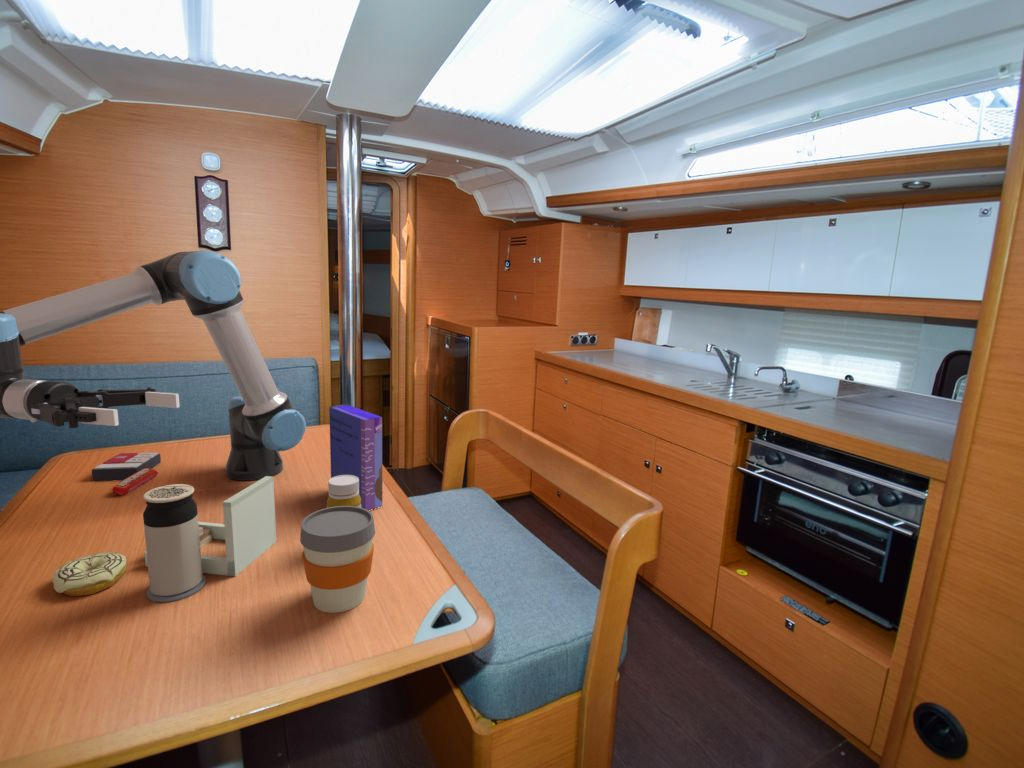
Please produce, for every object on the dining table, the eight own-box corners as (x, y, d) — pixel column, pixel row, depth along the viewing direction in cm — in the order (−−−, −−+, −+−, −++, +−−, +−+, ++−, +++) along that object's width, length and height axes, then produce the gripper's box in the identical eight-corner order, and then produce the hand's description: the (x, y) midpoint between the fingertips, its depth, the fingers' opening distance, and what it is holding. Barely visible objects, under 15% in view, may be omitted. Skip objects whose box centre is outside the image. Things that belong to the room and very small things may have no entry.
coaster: (199, 568, 99) (199, 566, 99) (211, 589, 92) (211, 587, 92) (142, 585, 93) (142, 583, 93) (151, 609, 86) (151, 606, 86)
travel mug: (184, 598, 89) (176, 502, 85) (139, 596, 89) (129, 499, 85) (211, 573, 97) (205, 484, 93) (170, 571, 97) (162, 482, 93)
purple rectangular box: (382, 507, 130) (382, 416, 125) (365, 512, 126) (364, 419, 122) (347, 487, 141) (345, 403, 137) (331, 491, 138) (329, 405, 134)
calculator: (160, 451, 154) (137, 465, 140) (161, 464, 155) (138, 480, 140) (119, 452, 152) (90, 467, 137) (120, 466, 152) (91, 482, 138)
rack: (145, 566, 99) (138, 493, 96) (196, 533, 112) (191, 469, 109) (235, 576, 97) (230, 502, 94) (276, 542, 110) (273, 476, 107)
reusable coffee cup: (355, 624, 85) (354, 541, 82) (287, 613, 87) (283, 532, 84) (386, 583, 97) (386, 509, 94) (326, 574, 99) (324, 501, 96)
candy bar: (124, 498, 129) (123, 487, 129) (108, 498, 129) (107, 487, 128) (161, 475, 145) (160, 465, 144) (147, 475, 144) (146, 465, 144)
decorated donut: (47, 606, 86) (44, 586, 86) (60, 575, 95) (58, 557, 94) (124, 589, 92) (122, 570, 91) (129, 561, 101) (127, 544, 100)
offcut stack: (147, 560, 101) (145, 543, 100) (185, 536, 111) (184, 520, 110) (178, 564, 100) (177, 546, 99) (214, 539, 110) (212, 523, 109)
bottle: (368, 541, 112) (367, 477, 110) (348, 556, 106) (347, 488, 103) (341, 535, 114) (340, 472, 112) (320, 549, 108) (318, 483, 105)
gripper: (107, 405, 107) (199, 412, 105) (-30, 439, 83) (87, 449, 81) (103, 370, 106) (197, 377, 104) (-37, 394, 82) (81, 403, 79)
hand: (149, 408), depth 92 cm, fingers open, 13 cm apart
